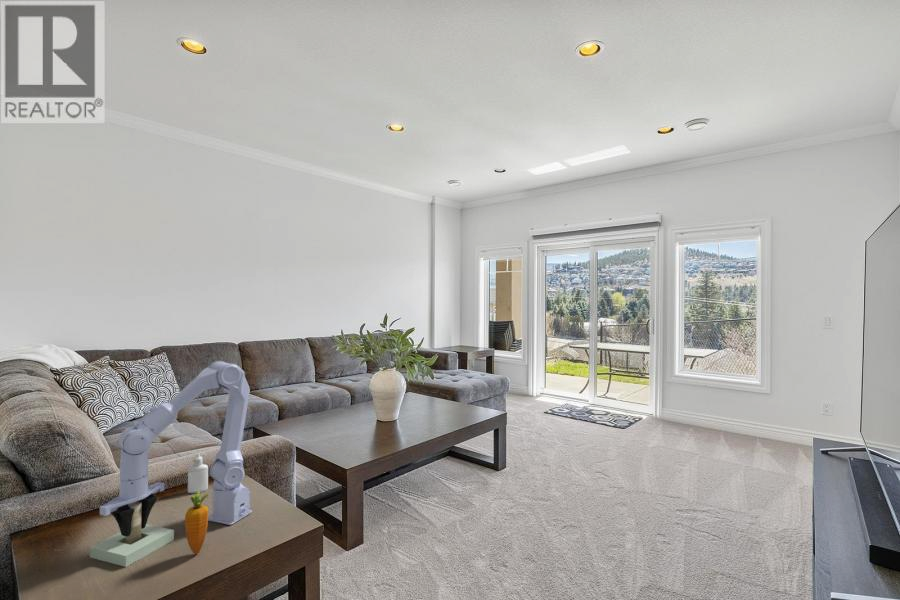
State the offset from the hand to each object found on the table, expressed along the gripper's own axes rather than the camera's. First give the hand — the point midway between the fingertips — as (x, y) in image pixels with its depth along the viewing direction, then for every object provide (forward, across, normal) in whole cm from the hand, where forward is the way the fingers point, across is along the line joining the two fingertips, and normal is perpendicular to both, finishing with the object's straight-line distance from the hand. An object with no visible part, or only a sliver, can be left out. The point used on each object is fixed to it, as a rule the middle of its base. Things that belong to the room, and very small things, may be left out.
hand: (133, 531), depth 106 cm
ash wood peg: (+3, 0, 0) cm, 3 cm away
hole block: (+4, 0, 0) cm, 4 cm away
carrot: (+4, -3, +17) cm, 18 cm away
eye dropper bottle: (+4, -30, -13) cm, 33 cm away
